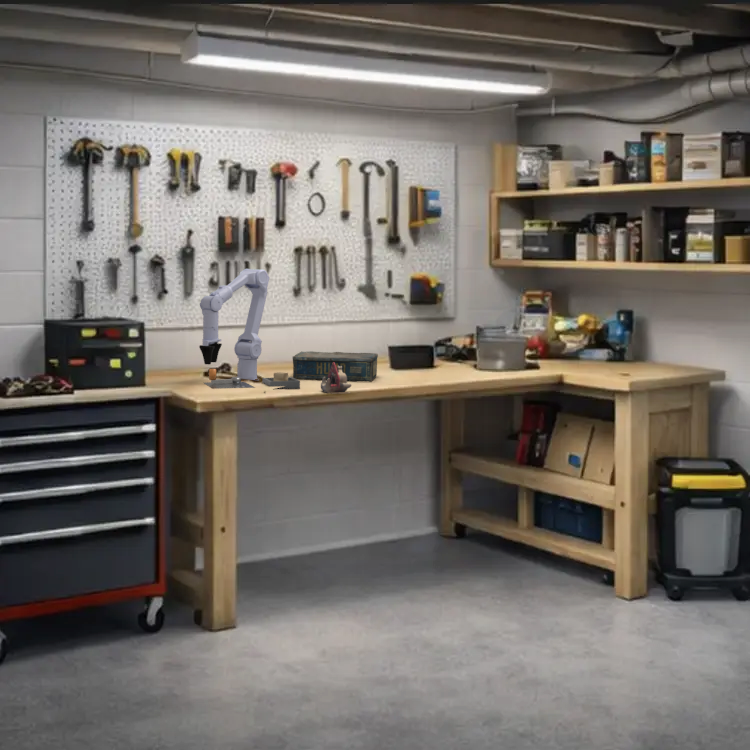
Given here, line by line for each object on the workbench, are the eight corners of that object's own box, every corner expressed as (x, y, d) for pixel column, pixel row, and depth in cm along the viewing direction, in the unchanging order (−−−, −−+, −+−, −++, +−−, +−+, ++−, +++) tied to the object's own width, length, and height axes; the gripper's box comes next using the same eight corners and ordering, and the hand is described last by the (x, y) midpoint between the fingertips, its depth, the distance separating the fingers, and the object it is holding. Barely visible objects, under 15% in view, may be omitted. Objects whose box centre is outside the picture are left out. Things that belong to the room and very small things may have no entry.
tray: (262, 385, 452) (262, 377, 451) (291, 384, 455) (291, 377, 455) (269, 389, 441) (269, 381, 440) (299, 388, 445) (299, 380, 444)
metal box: (371, 383, 469) (372, 358, 468) (291, 380, 473) (291, 355, 471) (378, 377, 490) (378, 353, 488) (301, 374, 494) (301, 350, 492)
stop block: (278, 384, 451) (279, 371, 450) (288, 385, 449) (288, 372, 448) (273, 386, 447) (273, 372, 447) (282, 386, 445) (282, 373, 445)
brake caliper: (311, 384, 441) (329, 358, 442) (332, 400, 445) (351, 375, 447) (322, 387, 430) (341, 361, 432) (343, 405, 435) (362, 378, 436)
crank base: (202, 385, 448) (202, 381, 448) (244, 384, 454) (244, 381, 453) (212, 391, 431) (212, 388, 431) (255, 390, 437) (255, 387, 436)
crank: (239, 381, 451) (239, 368, 450) (241, 382, 447) (241, 369, 447) (208, 382, 447) (208, 368, 446) (210, 383, 443) (210, 369, 443)
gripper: (215, 329, 439) (215, 365, 441) (226, 326, 454) (226, 361, 455) (197, 328, 440) (197, 364, 442) (208, 325, 455) (208, 361, 456)
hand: (210, 363), depth 449 cm, fingers open, 7 cm apart
